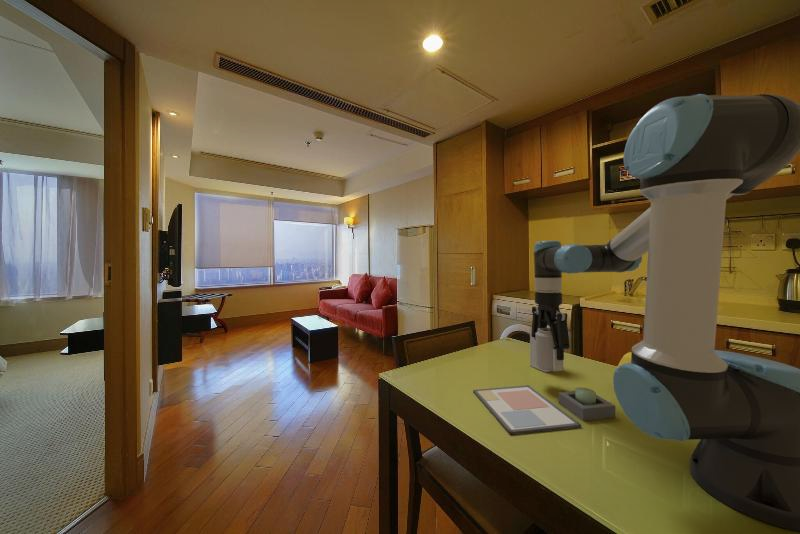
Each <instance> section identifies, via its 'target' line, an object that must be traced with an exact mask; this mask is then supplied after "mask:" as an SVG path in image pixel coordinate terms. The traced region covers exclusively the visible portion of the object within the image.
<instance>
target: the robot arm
mask: <svg viewBox="0 0 800 534" xmlns="http://www.w3.org/2000/svg"><path fill="white" fill-rule="evenodd" d="M624 147H625V148H624V151H623V165H624V169H625V170H626V171H627V173H628V174H629V175H630V176H631V177H634V178H635V179H639V180H640V185H639V186H640V187H639V194H641V195H642V196H643V197H645V198H646V199H647V200H649V202H650V207H648V208H647V209H646V210H645V211H644V212H642V214H640V215H639V216H637V218H635V219H634V220H633V221H632V222H631V223H630V224H629V225H627V226H626V227H625V228H624V229H622V230H621V231H620V232H619V233H617V235H616V236H614V237H613V238H612V239H610V241H608V242H606V244H576V243H575V244H574V243H573V244H565V245H562V242H561V241H559V240H542V241H541V240H540V241H536V242H535V244H534V250H533V260H534V261H533V264H534V266H533V267H534V290H535V292H534V303H535V304H536V305H538V306H537V307H531V313H532V318H531V320H532V324H531V325H532V333H531V336H532V337H534V338H535V340H536V333H537V332H538V328H547V325H548V326H550V329H551V333H552V337H553V341H554V345H555V347H553V370H554V371H553V372H561V371H562V372H564V360H565V349H569V348H570V347H571V346H570V345H571V344H570V337H569V331H568V330H569V328H568V316H569V315H568V313H566V312H564V313H563V312H561V309H560V306H561V305H562V304H563V293H562V292H561V291H563V285H562V284H563V283H562V277H563V276H562V274H565V273H566V274H568V275H569V274H579V273H624V272H633V271H635V270H637V269H638V268H639V267H640V264H641V263H642V261H643V256H644V255H645V254H647V265H646V266H647V267H646V268H647V269H646V270H647V271H646V287H645V301H644V303H645V306H644V322H643V323H644V324H643V339H642V340H641V341H639V342H638V343H636V344H634V345H633V346H632V347H631V352H632V355H631V363H627V364H626V363H624V364H623V365H620V366H619V367H618V366H617V367H618V368H616V369H615V370H614V373H613V377H612V382H613V384H612V385H613V389H614V393H615V397H616V400H617V402H618V404H619V405H620V407H621V408H622V410H623V412H624V414H625V416H626V417H627V418H628V419H629V420H630V422H632V424H633V425H634V426H635V427H636V428H637V429H639V430H640V431H641V432H643V433H644V434H646V435H647V436H649V437H651V438H655V439H658V440H673V441H677V442H686V441H687V440H689V441H690V440H694V441H695V440H699V441H698V443H697V444H696V446H695V447H694V450H693V451H692V453H691V455H690V459H689V472H690V475H691V477H692V479H693V480H694V481H695V482H696V483H697V485H698V486H700V487H701V488H702V489H703V491H706V492H707V494H709V495H711V496H713V498H715V499H717V500H718V501H720V502H722V503H723V504H725V505H727V506H729V507H730V508H732V509H734V510H736V511H739V512H740V513H742V514H745V515H746V516H748V517H751V518H753V519H756V520H758V521H762V522H764V523H767V524H770V525H772V526H775V527H779V528H783V529H786V530H791V531H796V532H800V368H798V367H795V366H792V365H789V364H786V363H783V362H778V361H776V360H771V359H768V358H763V357H759V356H755V355H750V354H749V355H748V354H744V353H739V352H733V351H726V350H718V349H716V348H715V347H716V335H717V324H718V323H717V321H718V310H719V309H718V307H719V299H720V298H719V296H720V286H721V285H720V284H721V283H720V282H721V271H722V269H721V268H722V258H723V257H722V255H723V246H724V245H723V243H724V231H725V219H726V218H725V217H726V205H727V200H729V199H730V198H732V197H733V196H742V195H746V194H748V193H751V192H752V191H754V190H755V189H757V188H758V187H760V186H761V185H763V184H764V183H766V182H768V181H769V180H770V179H772V178H773V177H774V176H775V175H777V174H778V173H779V172H781V171H782V170H783V169H784V168H786V167H787V166H788V165H789V164H790V163H791V162H792V161H793V160H794V159H795V157H796V156H797V155H798V154H799V152H800V103H798V102H797V101H796V100H794V99H792V98H789V97H786V96H783V95H779V94H771V93H768V94H765V93H763V94H761V93H760V94H749V95H748V94H745V95H744V94H737V95H734V94H731V95H727V94H725V95H722V94H721V95H720V94H719V95H718V94H717V95H716V94H715V95H714V94H713V95H712V94H711V95H707V94H705V93H698V94H692V95H686V96H685V95H683V96H675V97H671V98H667V99H665V100H663V101H660V102H659V103H658V104H656V105H654V106H652V108H651V109H649V110H648V111H647V112H646V113H645V114H643V116H642V117H641V118H640V119H639V120H638V122H637V123H636V125H635V126H634V128H633V129H632V130H631V132H630V134H629V137H628V138H627V140H626V143H625V146H624ZM543 331H545V330H543ZM558 344H559V345H558Z"/></svg>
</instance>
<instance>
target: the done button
mask: <svg viewBox="0 0 800 534" xmlns="http://www.w3.org/2000/svg"><path fill="white" fill-rule="evenodd" d="M574 391H575V400H576V401H578V402H579V403H581V404H583V405H593V404H596V395H597V393H596V391H595V390H593V389H591V388H588V387H576V388H575V390H574Z"/></svg>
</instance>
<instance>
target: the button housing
mask: <svg viewBox="0 0 800 534" xmlns="http://www.w3.org/2000/svg"><path fill="white" fill-rule="evenodd" d="M557 401H558V404H559V405H561V406H562V407H563V408H564V409H566V410H567V411H568V412H570V413H571V414H572V415H575V416H576V418H578V419H580V420H581V421H583V422H584V421H585V422H586V421H592V420H604V419H605V420H606V419H613V418H616V405H615V404H613V403H612V402H610V401H608V400H606V399H604V397H601V396H599V395H597V394H596V404H593V405H583V404H581V403H579V402H578V401H576V400H575V390H573V391H572V390H571V391H560V392H558V400H557Z"/></svg>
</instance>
